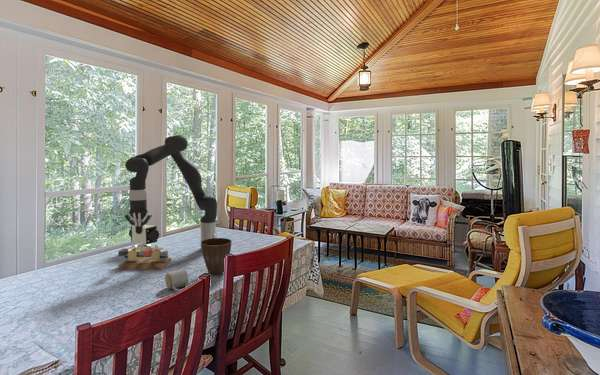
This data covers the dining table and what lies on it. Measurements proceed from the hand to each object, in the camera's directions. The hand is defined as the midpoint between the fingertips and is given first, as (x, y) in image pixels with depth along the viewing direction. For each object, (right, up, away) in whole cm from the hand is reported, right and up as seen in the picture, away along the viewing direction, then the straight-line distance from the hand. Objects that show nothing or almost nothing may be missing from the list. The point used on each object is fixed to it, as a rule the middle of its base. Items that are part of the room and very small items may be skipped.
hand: (139, 233), depth 167 cm
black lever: (-8, -10, +6) cm, 14 cm away
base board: (-2, -19, +13) cm, 23 cm away
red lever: (+4, -10, +6) cm, 12 cm away
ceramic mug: (+26, -22, -18) cm, 38 cm away
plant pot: (+38, -20, +2) cm, 43 cm away
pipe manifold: (-2, -17, +13) cm, 21 cm away
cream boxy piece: (-14, -17, +38) cm, 44 cm away
